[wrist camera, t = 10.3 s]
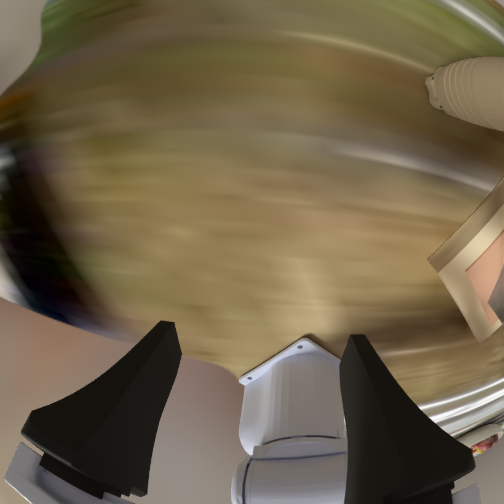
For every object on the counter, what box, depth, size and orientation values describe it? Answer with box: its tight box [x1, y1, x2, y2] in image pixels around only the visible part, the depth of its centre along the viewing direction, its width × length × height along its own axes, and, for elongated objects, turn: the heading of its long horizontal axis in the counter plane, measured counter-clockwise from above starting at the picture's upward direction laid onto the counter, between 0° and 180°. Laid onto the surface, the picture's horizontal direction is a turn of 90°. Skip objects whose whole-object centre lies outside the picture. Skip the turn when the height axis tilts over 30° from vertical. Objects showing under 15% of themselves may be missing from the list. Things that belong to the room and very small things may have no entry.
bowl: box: [456, 424, 503, 457], centre depth 40 cm, size 30×30×8 cm
